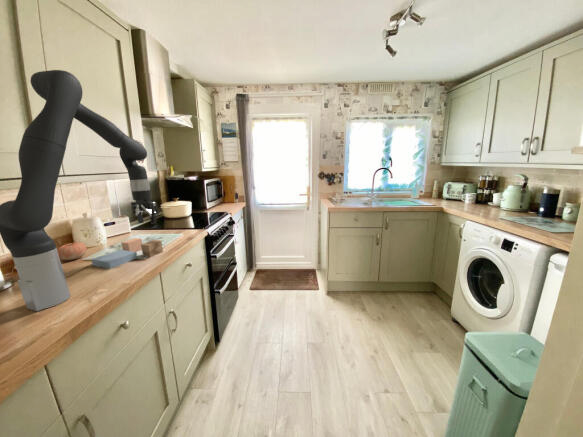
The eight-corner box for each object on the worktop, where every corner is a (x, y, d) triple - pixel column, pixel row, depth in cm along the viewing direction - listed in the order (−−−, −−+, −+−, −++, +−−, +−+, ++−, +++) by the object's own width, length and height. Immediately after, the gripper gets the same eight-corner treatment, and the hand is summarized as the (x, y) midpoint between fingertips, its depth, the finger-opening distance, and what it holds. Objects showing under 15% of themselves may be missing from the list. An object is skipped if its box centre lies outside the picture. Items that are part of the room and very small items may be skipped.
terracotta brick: (130, 254, 114) (127, 243, 113) (123, 253, 116) (121, 242, 115) (143, 249, 121) (141, 238, 119) (136, 248, 122) (134, 238, 121)
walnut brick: (150, 257, 109) (148, 245, 108) (143, 256, 111) (140, 244, 110) (163, 251, 116) (161, 240, 114) (156, 251, 118) (153, 239, 116)
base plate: (110, 268, 98) (109, 262, 97) (92, 265, 102) (91, 259, 102) (137, 257, 109) (136, 251, 108) (120, 255, 113) (119, 249, 113)
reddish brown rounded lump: (52, 262, 109) (48, 246, 107) (79, 253, 119) (75, 239, 117) (68, 264, 105) (63, 247, 104) (93, 255, 116) (89, 240, 114)
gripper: (122, 190, 105) (129, 224, 109) (144, 190, 100) (151, 226, 104) (137, 188, 112) (144, 220, 116) (159, 188, 107) (165, 221, 111)
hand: (147, 223), depth 110 cm, fingers open, 8 cm apart
